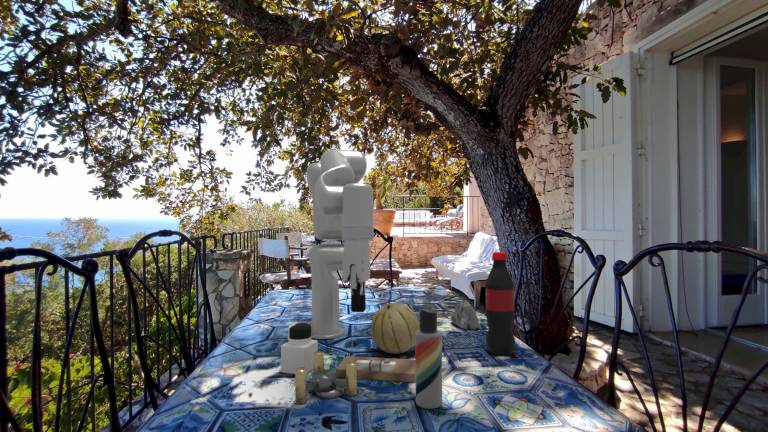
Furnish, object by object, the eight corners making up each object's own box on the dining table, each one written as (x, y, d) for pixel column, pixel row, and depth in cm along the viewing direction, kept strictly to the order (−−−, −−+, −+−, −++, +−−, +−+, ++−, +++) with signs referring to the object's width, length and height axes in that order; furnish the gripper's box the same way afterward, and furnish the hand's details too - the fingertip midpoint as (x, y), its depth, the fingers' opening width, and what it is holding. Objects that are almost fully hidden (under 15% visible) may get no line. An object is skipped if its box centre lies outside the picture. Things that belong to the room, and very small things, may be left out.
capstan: (293, 403, 84) (293, 371, 84) (315, 378, 97) (315, 350, 97) (348, 408, 81) (348, 374, 82) (363, 382, 95) (363, 353, 95)
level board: (335, 377, 98) (335, 358, 98) (346, 363, 108) (346, 346, 108) (415, 382, 95) (414, 362, 95) (418, 367, 105) (418, 349, 105)
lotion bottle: (413, 397, 86) (413, 306, 87) (438, 396, 87) (438, 306, 87) (418, 410, 81) (417, 312, 81) (445, 408, 81) (444, 312, 82)
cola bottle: (511, 348, 121) (510, 251, 121) (518, 357, 112) (517, 252, 113) (483, 347, 121) (482, 250, 122) (488, 356, 113) (487, 252, 114)
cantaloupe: (426, 348, 121) (426, 299, 121) (409, 363, 108) (409, 309, 108) (383, 342, 127) (383, 296, 127) (362, 356, 114) (362, 304, 114)
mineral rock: (451, 321, 156) (451, 295, 156) (479, 322, 153) (479, 296, 153) (449, 329, 143) (448, 301, 143) (479, 331, 141) (478, 303, 141)
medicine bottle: (318, 366, 106) (318, 322, 106) (304, 376, 99) (304, 328, 99) (295, 363, 108) (295, 320, 109) (280, 372, 101) (280, 326, 102)
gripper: (350, 234, 102) (351, 304, 102) (333, 235, 88) (334, 318, 87) (378, 234, 101) (379, 305, 101) (366, 235, 86) (367, 319, 86)
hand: (358, 311), depth 94 cm, fingers closed
